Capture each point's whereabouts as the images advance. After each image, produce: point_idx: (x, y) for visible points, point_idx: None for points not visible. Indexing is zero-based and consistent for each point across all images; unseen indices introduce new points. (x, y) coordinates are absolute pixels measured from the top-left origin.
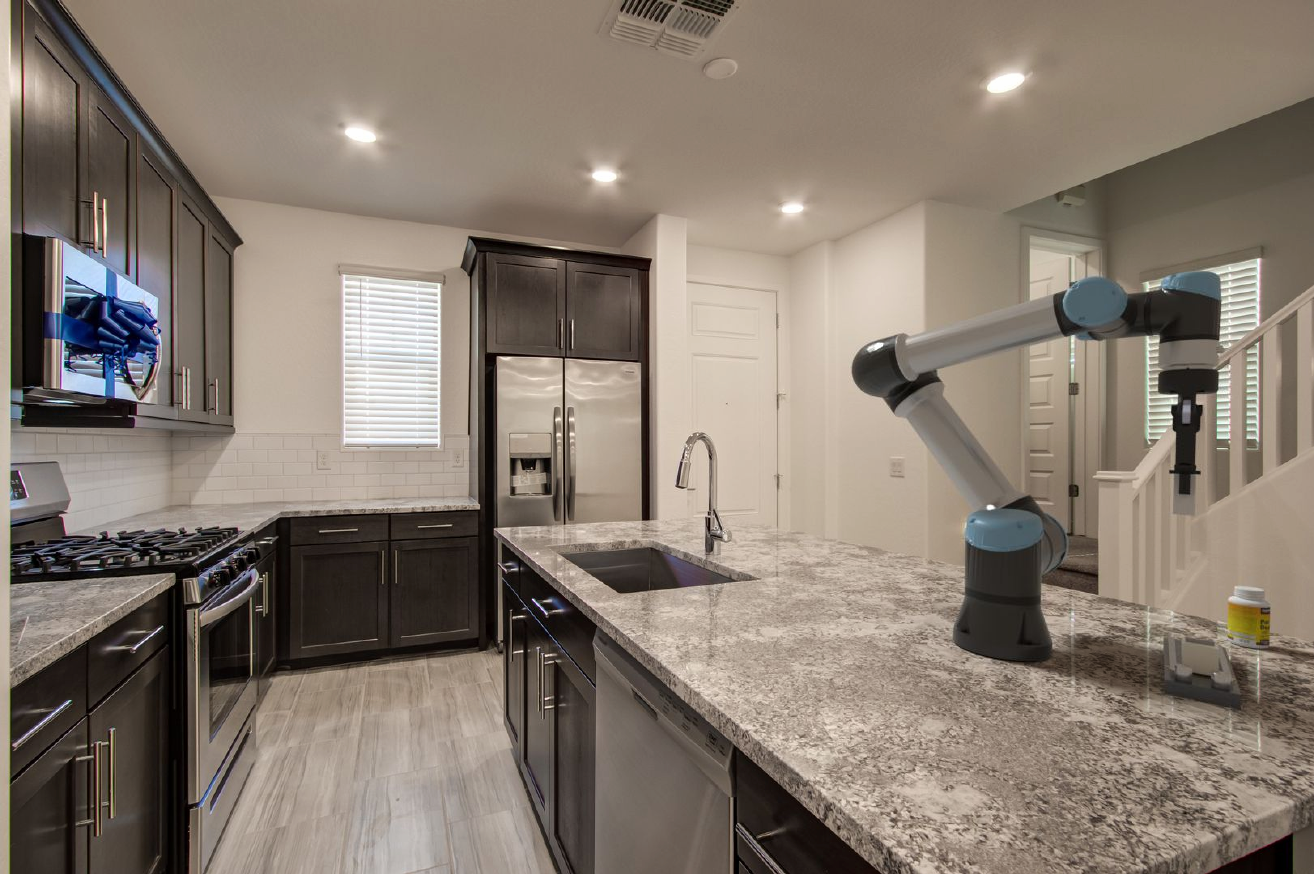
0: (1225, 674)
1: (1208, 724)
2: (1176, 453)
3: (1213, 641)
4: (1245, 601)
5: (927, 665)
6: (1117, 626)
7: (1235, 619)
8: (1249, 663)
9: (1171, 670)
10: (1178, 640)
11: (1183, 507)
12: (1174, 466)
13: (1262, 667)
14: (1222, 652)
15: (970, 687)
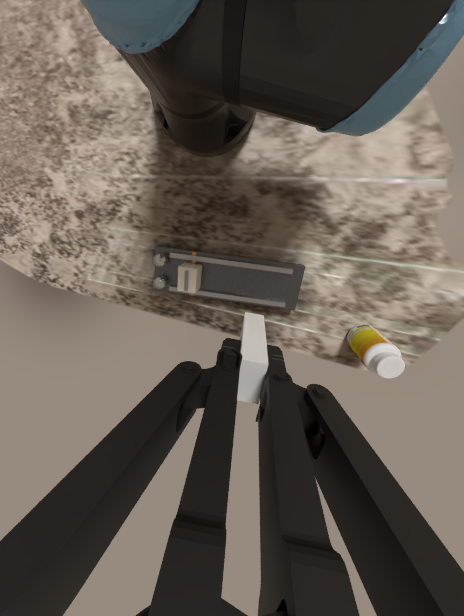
0: (156, 285)
1: (112, 261)
2: (145, 398)
3: (186, 290)
4: (369, 354)
5: (79, 16)
6: (383, 232)
7: (364, 337)
8: (291, 321)
9: (170, 253)
10: (299, 277)
11: (241, 333)
12: (183, 366)
13: (284, 327)
14: (255, 302)
15: (52, 81)
